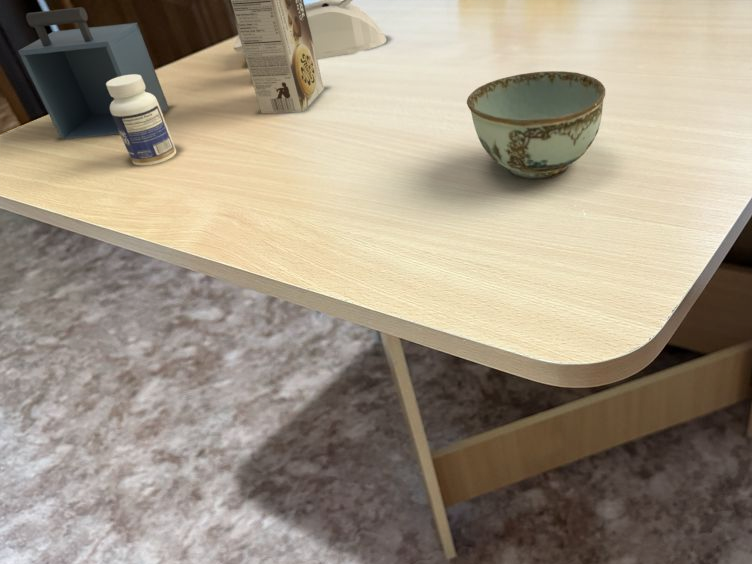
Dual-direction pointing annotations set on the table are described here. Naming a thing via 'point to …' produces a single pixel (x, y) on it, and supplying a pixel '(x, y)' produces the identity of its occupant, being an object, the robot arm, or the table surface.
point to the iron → (338, 29)
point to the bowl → (537, 120)
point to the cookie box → (278, 53)
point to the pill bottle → (140, 121)
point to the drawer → (85, 70)
